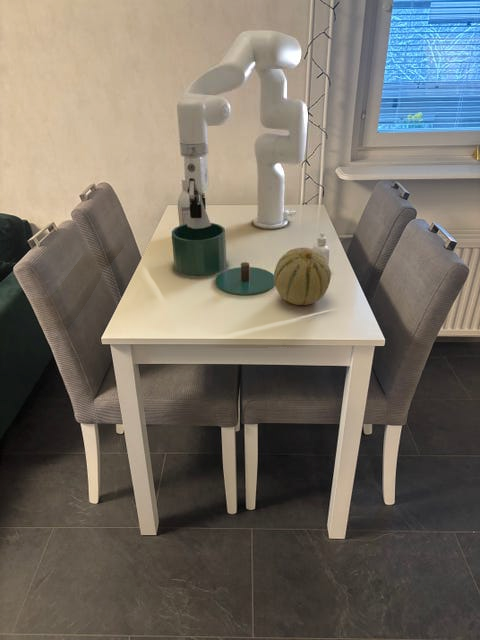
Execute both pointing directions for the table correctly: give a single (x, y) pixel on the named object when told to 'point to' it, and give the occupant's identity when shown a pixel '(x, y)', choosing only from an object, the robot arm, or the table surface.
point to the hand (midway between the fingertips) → (198, 213)
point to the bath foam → (183, 205)
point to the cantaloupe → (302, 276)
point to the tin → (199, 250)
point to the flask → (201, 221)
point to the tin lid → (245, 280)
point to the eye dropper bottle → (322, 247)
